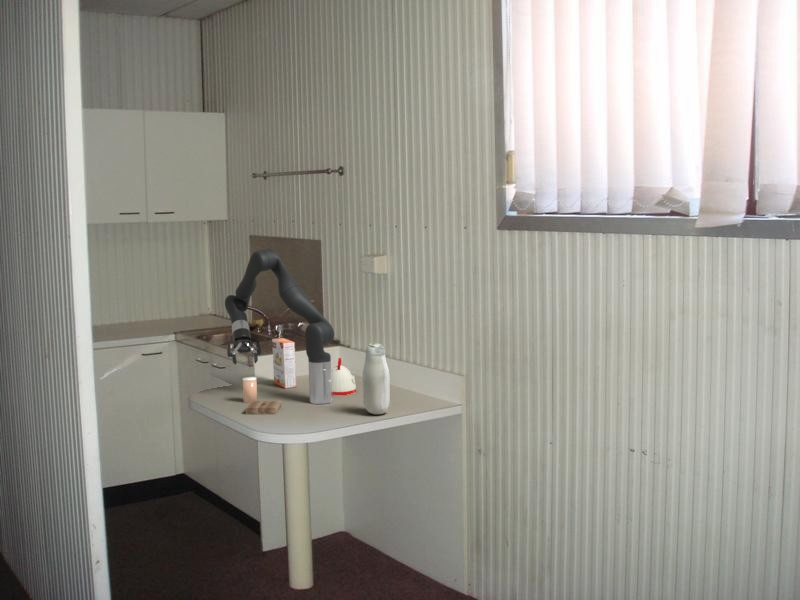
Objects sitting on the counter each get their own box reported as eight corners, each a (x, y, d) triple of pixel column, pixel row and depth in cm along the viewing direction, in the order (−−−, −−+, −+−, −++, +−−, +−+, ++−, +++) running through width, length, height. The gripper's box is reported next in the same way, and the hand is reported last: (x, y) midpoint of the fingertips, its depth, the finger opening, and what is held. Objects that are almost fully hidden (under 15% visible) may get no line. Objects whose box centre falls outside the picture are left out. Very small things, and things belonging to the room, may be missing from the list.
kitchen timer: (357, 388, 409) (356, 355, 408) (355, 395, 396) (354, 361, 394) (326, 389, 410) (325, 355, 408) (322, 395, 396) (321, 361, 394)
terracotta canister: (258, 399, 390) (257, 376, 389) (255, 402, 385) (254, 379, 384) (245, 400, 391) (244, 376, 390) (242, 403, 385) (241, 379, 384)
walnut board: (281, 407, 376) (281, 401, 376) (275, 414, 364) (275, 407, 364) (252, 407, 377) (251, 401, 376) (245, 414, 365) (245, 408, 364)
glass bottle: (394, 413, 362) (393, 342, 358) (377, 418, 354) (375, 346, 351) (376, 409, 368) (375, 340, 365) (358, 414, 361) (356, 343, 357)
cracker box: (273, 383, 424) (271, 338, 421) (285, 382, 427) (283, 337, 424) (284, 389, 411) (282, 342, 409) (296, 387, 414) (295, 341, 412)
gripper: (225, 328, 401) (229, 358, 391) (258, 326, 405) (263, 356, 395) (224, 338, 406) (228, 369, 397) (256, 336, 410) (261, 366, 401)
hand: (245, 362), depth 396 cm, fingers open, 8 cm apart
